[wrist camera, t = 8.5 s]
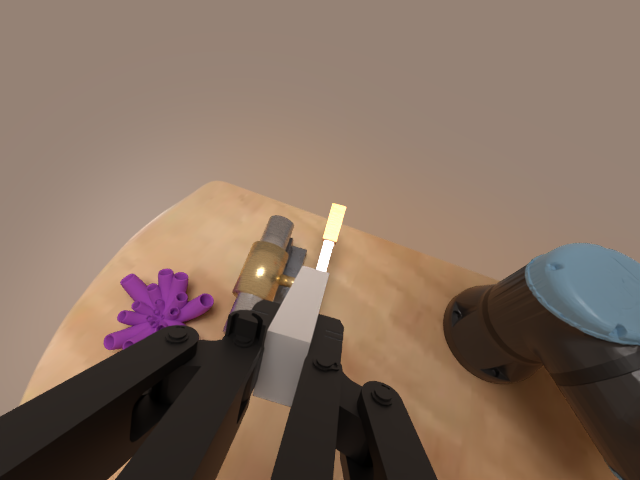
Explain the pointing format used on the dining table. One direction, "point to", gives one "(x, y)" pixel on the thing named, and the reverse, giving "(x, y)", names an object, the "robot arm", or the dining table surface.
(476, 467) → the dining table surface
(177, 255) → the dining table surface
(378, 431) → the robot arm
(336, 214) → the lever
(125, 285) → the purple tube coral
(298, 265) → the valve stand
